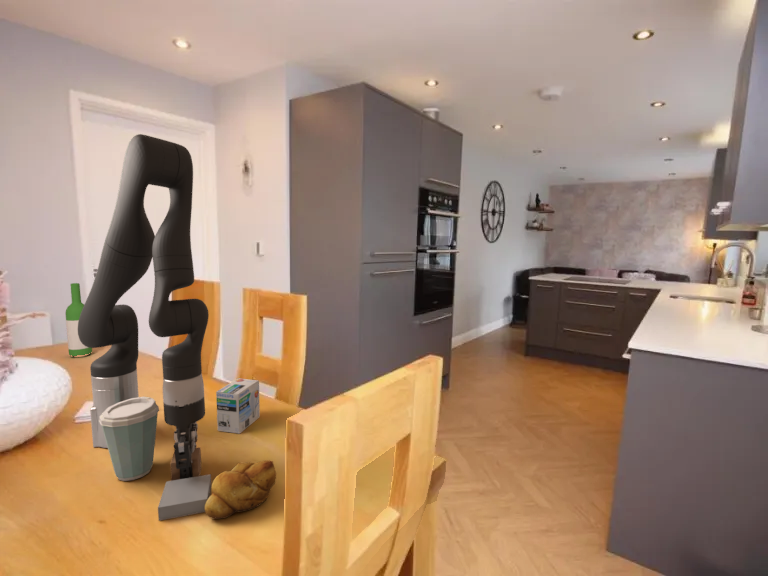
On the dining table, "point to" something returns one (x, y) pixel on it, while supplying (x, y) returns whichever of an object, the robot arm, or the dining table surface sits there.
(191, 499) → the slate coaster
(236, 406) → the light bulb box
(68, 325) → the wine bottle
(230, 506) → the bread roll
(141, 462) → the disposable coffee cup
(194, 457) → the walnut cube
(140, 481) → the dining table surface
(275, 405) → the dining table surface
